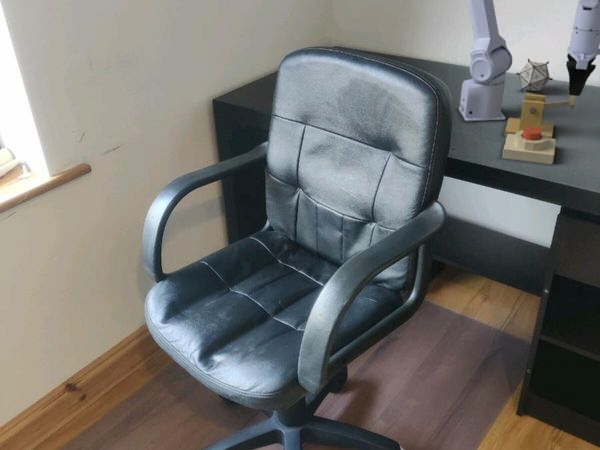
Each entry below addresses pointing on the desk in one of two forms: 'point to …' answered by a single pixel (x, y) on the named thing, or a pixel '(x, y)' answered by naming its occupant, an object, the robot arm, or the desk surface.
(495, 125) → the desk surface
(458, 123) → the desk surface
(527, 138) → the button
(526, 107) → the bracket
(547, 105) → the lever
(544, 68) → the game die
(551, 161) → the control block
